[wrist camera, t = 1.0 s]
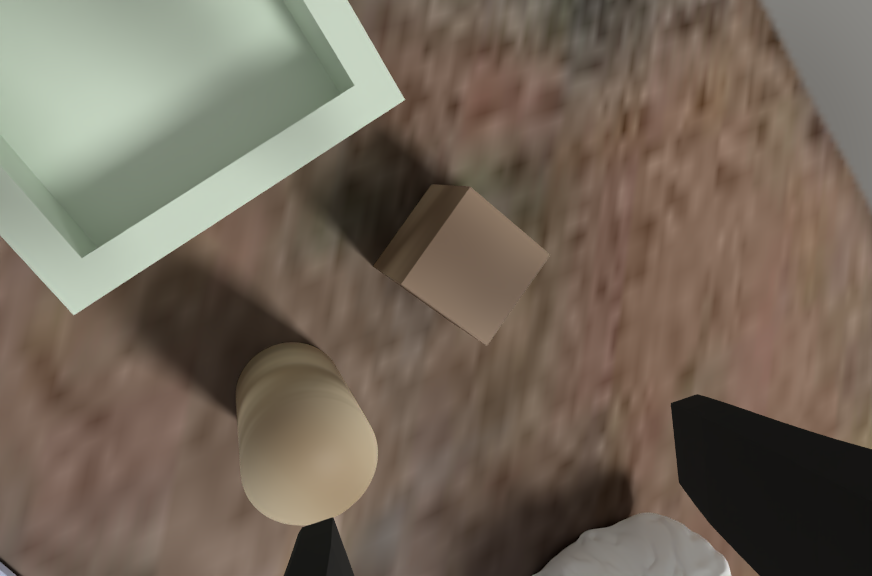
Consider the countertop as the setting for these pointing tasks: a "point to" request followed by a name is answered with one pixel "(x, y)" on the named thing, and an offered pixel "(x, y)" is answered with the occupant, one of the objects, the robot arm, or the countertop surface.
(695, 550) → the bust
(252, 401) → the beech cylinder
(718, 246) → the countertop surface
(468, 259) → the walnut cube
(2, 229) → the tray
